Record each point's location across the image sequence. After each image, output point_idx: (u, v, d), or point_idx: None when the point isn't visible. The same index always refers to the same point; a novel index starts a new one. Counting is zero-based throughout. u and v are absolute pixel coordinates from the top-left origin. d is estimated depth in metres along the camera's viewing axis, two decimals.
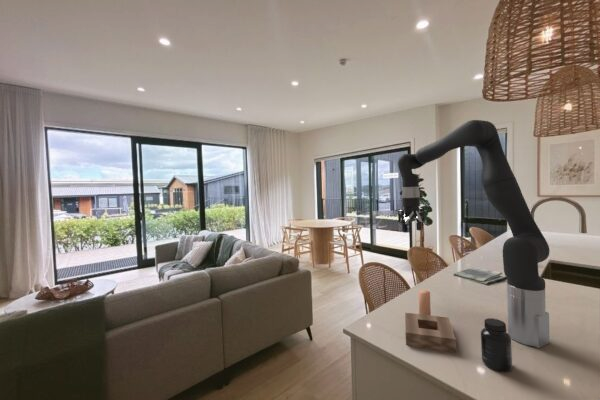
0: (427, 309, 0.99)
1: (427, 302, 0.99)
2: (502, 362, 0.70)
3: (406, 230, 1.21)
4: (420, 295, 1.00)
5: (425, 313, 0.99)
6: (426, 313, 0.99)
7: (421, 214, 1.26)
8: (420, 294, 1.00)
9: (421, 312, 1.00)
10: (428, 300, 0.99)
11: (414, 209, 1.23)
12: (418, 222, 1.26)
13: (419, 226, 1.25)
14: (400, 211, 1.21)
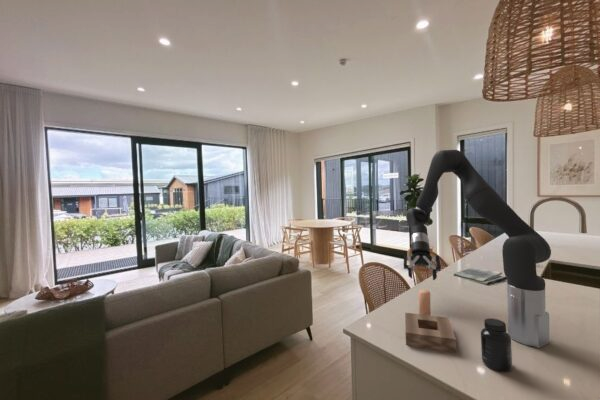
0: (427, 309, 0.99)
1: (427, 302, 0.99)
2: (502, 362, 0.70)
3: (410, 274, 1.10)
4: (420, 295, 1.00)
5: (425, 313, 0.99)
6: (426, 313, 0.99)
7: (436, 262, 1.11)
8: (420, 294, 1.00)
9: (421, 312, 1.00)
10: (428, 300, 0.99)
11: (422, 255, 1.14)
12: None
13: (433, 274, 1.08)
14: (404, 256, 1.17)
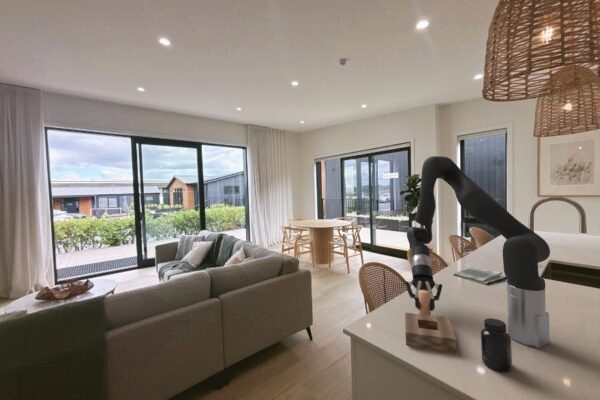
0: (427, 309, 0.99)
1: (427, 302, 0.99)
2: (502, 362, 0.70)
3: (417, 305, 1.00)
4: (420, 295, 1.00)
5: (425, 313, 0.99)
6: (426, 313, 0.99)
7: (437, 290, 1.02)
8: (420, 294, 1.00)
9: (421, 312, 1.00)
10: (428, 300, 0.99)
11: (425, 280, 1.05)
12: None
13: (430, 304, 0.99)
14: (405, 284, 1.07)
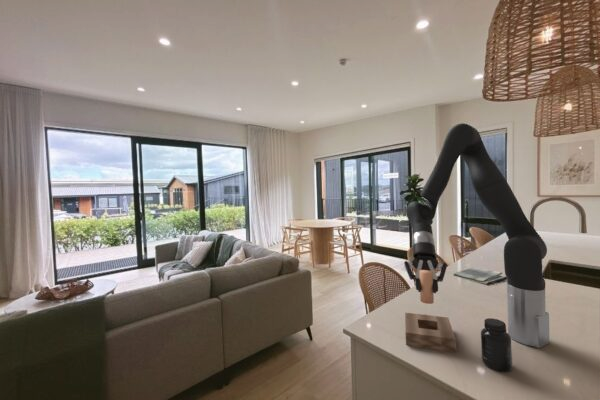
0: (429, 291, 0.86)
1: (429, 283, 0.86)
2: (502, 362, 0.70)
3: (418, 287, 0.87)
4: (421, 275, 0.87)
5: (427, 296, 0.86)
6: (428, 296, 0.86)
7: (441, 270, 0.89)
8: (421, 274, 0.87)
9: (423, 295, 0.87)
10: (431, 281, 0.86)
11: (427, 259, 0.92)
12: None
13: None
14: None
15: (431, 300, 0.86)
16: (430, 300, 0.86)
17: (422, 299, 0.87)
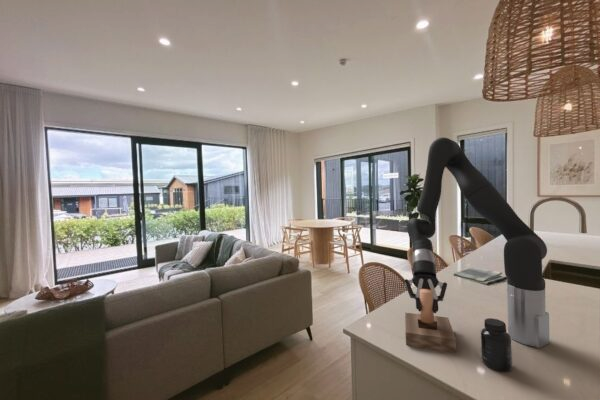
0: (430, 310, 0.86)
1: (429, 303, 0.86)
2: (502, 362, 0.70)
3: (418, 306, 0.87)
4: (422, 295, 0.87)
5: (428, 315, 0.86)
6: (428, 315, 0.86)
7: (441, 290, 0.89)
8: (422, 294, 0.87)
9: (423, 314, 0.87)
10: (431, 301, 0.86)
11: (427, 278, 0.92)
12: None
13: (433, 305, 0.86)
14: (405, 282, 0.94)
15: (431, 320, 0.87)
16: (430, 320, 0.86)
17: (422, 318, 0.88)
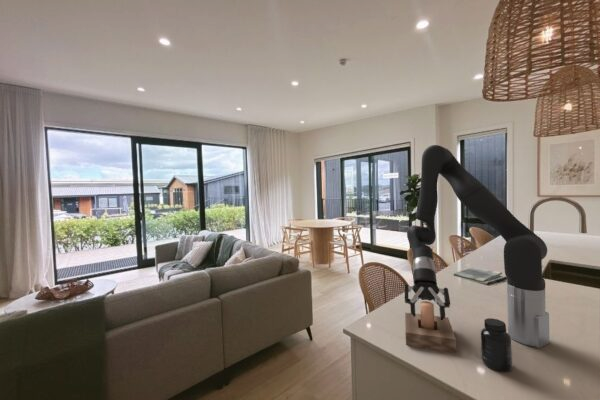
0: (430, 323, 0.86)
1: (430, 316, 0.86)
2: (502, 362, 0.70)
3: (413, 311, 0.88)
4: (422, 308, 0.87)
5: (428, 328, 0.86)
6: (429, 328, 0.86)
7: (444, 296, 0.89)
8: (422, 307, 0.87)
9: (423, 327, 0.87)
10: (431, 314, 0.86)
11: (427, 286, 0.92)
12: None
13: (440, 312, 0.86)
14: None
15: None
16: None
17: None
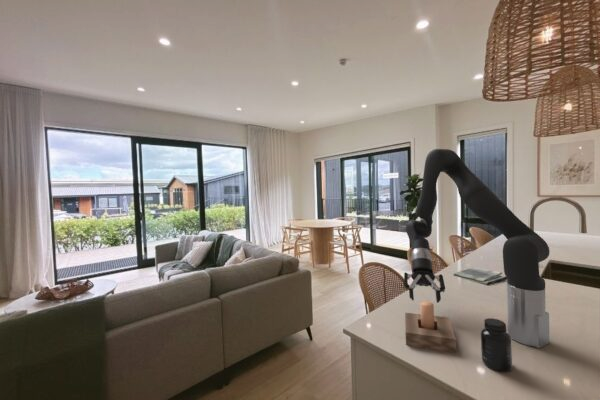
0: (430, 324, 0.86)
1: (430, 316, 0.86)
2: (502, 362, 0.70)
3: (411, 296, 1.00)
4: (422, 308, 0.87)
5: (428, 328, 0.86)
6: (429, 328, 0.86)
7: (440, 282, 1.01)
8: (422, 307, 0.87)
9: (423, 327, 0.87)
10: (431, 314, 0.86)
11: (425, 274, 1.04)
12: (436, 291, 0.99)
13: (436, 296, 0.98)
14: None
15: None
16: None
17: None
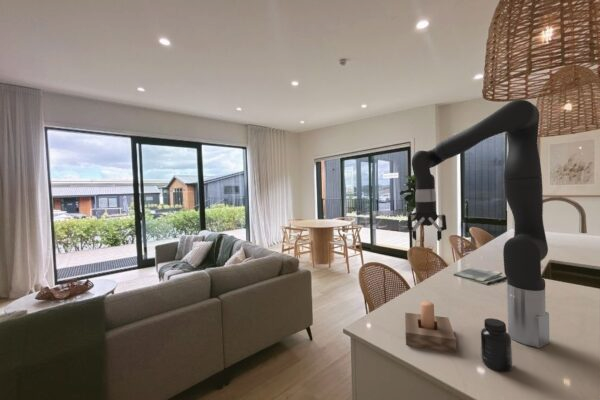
0: (430, 324, 0.86)
1: (430, 316, 0.86)
2: (502, 362, 0.70)
3: (414, 238, 1.08)
4: (423, 308, 0.87)
5: (428, 328, 0.86)
6: (429, 328, 0.86)
7: (442, 222, 1.05)
8: (423, 307, 0.87)
9: (424, 327, 0.87)
10: (432, 314, 0.86)
11: (428, 215, 1.06)
12: (437, 231, 1.06)
13: (437, 235, 1.06)
14: (408, 216, 1.10)
15: None
16: None
17: None
